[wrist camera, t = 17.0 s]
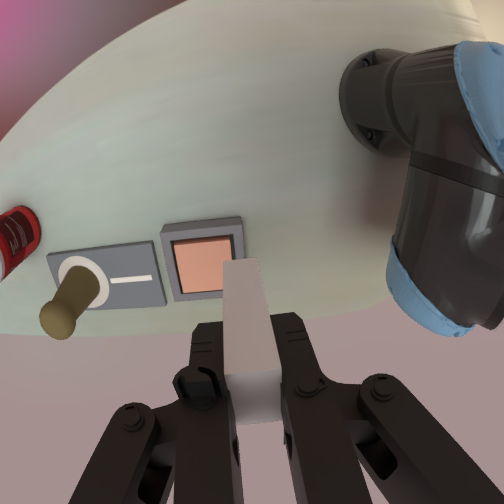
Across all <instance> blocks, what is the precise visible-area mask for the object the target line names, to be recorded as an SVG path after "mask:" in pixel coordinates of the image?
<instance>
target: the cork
mask: <svg viewBox="0 0 504 504" xmlns="http://www.w3.org/2000/svg"><path fill="white" fill-rule="evenodd" d="M99 292H100V284H99V280H98V278H97V276H96V275H95V274H94V273H93V272H92V271H91V270H90V269H88V268H87V267H84V266H78V265H76V266H73V267H71V268H70V269H69V270H68V272H67V273H66V275H65V277H64V279H63V281H62V283H61V284H60V286H59V288H58V290H57V292H56V294H55V296H54V298H53V300H52V301H49V302H47V303H46V304H45V305H44V306H43V307H42V309H41V311H40V315H39V318H40V324H41V327H42V328H43V330H44V331H45V332H46V333H47V334H48V335H49V336H51V337H52V338H55V339H58V340H64V339H67V338H68V337H70V336H71V335H72V334H73V332H74V330H75V326H76V320H77V319H78V317H79V316H80V315H81V314H82V313H83V312H84V311H85V309H86V308H87V307H88V306H89V305H90V304H91V303H92V302H93V300H94V299H95V298H96V297H97V296H98V294H99Z"/></svg>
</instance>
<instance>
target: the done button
mask: <svg viewBox="0 0 504 504" xmlns="http://www.w3.org/2000/svg"><path fill="white" fill-rule="evenodd" d="M174 249H175V254H176V259H177V264H178V269H179V274H180V279H181V284H182V288H183V293H189V292H200V291H211V290H222V289H223V261H228V260H232V253H231V243H230V234H229V235H219V236H209V237H199V238H190V239H180V240H176V241H175V244H174Z"/></svg>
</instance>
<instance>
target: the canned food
mask: <svg viewBox="0 0 504 504" xmlns="http://www.w3.org/2000/svg"><path fill="white" fill-rule="evenodd" d="M40 236H41V231H40V225H39V222H38V220H37V217H36V216H35V214H34V213H33V212H32V211H31V210H30V209H28V208H26V207H23V206H20V207H14V208H12V209H11V210H9V211H7V212H5V213H4V214H2V215H0V282H1V281H2V280H3V279H5V278H6V277H7V276H8V275H9V274H10V273H11V272H12V271H13V270H14V269H15V268H16V267H17V266H18V265H19V264H20V263H21V262H22V261H23V260H24V259H26V258H27V257H28V256H29V255H30V254H31V253H32V252H33V251H34V250H35V249H36V247H37V245H38V243H39V241H40Z"/></svg>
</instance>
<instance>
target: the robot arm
mask: <svg viewBox="0 0 504 504" xmlns="http://www.w3.org/2000/svg"><path fill="white" fill-rule="evenodd" d="M339 98H340V106H341V111H342V114H343V117H344V119H345V122H346V124H347V126H348V127H349V129H350V131H351V132H352V134H353V135H354V136H355V137H356V138H357V140H358V141H359V142H360V143H362V144H363V145H364V146H365V147H367V148H368V149H370V150H372V151H374V152H376V153H379V154H382V155H386V156H389V157H396V158H403V157H409V156H410V163H409V167H408V173H407V180H406V185H405V190H404V195H403V200H402V204H401V209H400V213H399V218H398V222H397V226H396V230H395V234H394V235H393V236H392V238H391V241H390V246H391V251H390V255H389V259H388V264H387V268H386V282H387V286H388V288H389V290H390V292H391V294H392V295H393V298H394V300H395V301H396V303H397V304H398V305H399V307H400V308H401V309H402V310H403V311H404V312H405V313H406V314H407V315H408V316H409V317H410V318H412V319H413V320H414V321H416V322H417V323H418V324H420V325H421V326H423V327H424V328H426V329H428V330H430V331H432V332H434V333H437V334H439V335H442V336H446V337H451V336H452V335H454V336H455V337H462V336H464V335H466V334H467V333H468V332H469V331H471V330H472V329H473V328H474V327H475V325H476V324H478V325H480V326H482V327H485V328H487V329H489V330H491V331H496V330H498V329H500V328H502V327H504V45H501V44H499V43H495V42H472V41H462V42H460V43H458V44H454V45H448V46H443V47H438V48H434V49H429V50H425V51H420V52H416V53H412V54H410V53H406V52H402V51H398V50H393V49H376V50H372V51H369V52H367V53H364V54H362V55H360V56H358V57H357V58H355V59H354V60H353V61H352V62H351V63H350V64H349V65H348V67H347V68H346V70H345V72H344V74H343V77H342V80H341V84H340V92H339ZM190 353H191V354H190V360H189V366H187V367H185V368H183V369H181V370H180V371H179V372H178V373H177V374H176V375H175V377H174V379H173V382H172V383H173V385H174V388H175V390H176V393H177V395H178V397H179V399H178V400H176V401H175V402H173V403H171V404H168V405H166V406H162V407H158V408H155V409H151V408H150V407H149V406H147V405H145V404H142V403H134V402H133V403H129V404H125V405H123V406H122V407H120V408H119V409H118V410H117V411H116V412H115V413H114V415H113V417H112V418H111V420H110V422H109V424H108V426H107V428H106V430H105V432H104V433H103V435H102V437H101V439H100V441H99V443H98V445H97V447H96V449H95V451H94V453H93V455H92V456H91V458H90V461H89V462H88V464H87V466H86V468H85V470H84V472H83V474H82V476H81V479H80V480H79V482H78V485H77V487H76V489H75V491H74V493H73V495H72V497H71V499H70V501H69V503H68V504H166V503H167V500H168V497H169V494H170V491H171V488H172V485H173V482H174V504H244V499H243V488H242V477H241V465H240V454H239V442H238V437H237V433H236V425H246V424H255V423H265V422H272V421H279V420H283V425H284V444H286V449H287V454H288V459H289V464H290V470H291V475H292V480H293V485H294V491H295V496H296V501H297V504H373V503H372V500H371V497H370V494H369V491H368V488H367V485H366V482H365V479H364V476H363V473H362V470H361V467H360V464H359V461H360V463H361V464H362V466H363V467H364V468H365V470H366V471H367V473H368V474H369V476H370V477H371V478H372V480H373V481H374V482H375V484H376V485H377V487H378V488H379V490H380V491H381V493H382V494H383V495H384V497H385V498H386V500H387V501H388V502H389V504H504V495H503V494H502V493H501V491H500V490H499V489H498V488H497V487H496V486H495V484H494V483H493V482H492V481H491V480H490V479H489V478H488V477H487V475H486V474H485V473H484V472H483V471H482V470H481V469H480V468H479V466H478V465H477V464H476V463H475V462H474V461H473V460H472V459H471V457H469V455H468V454H467V453H466V452H465V451H464V450H463V449H462V447H461V446H460V445H459V444H458V443H457V442H456V441H455V440H454V439H453V438H452V436H451V435H450V434H449V433H448V432H447V431H446V430H445V429H444V428H443V427H442V425H441V424H440V423H439V422H438V421H437V420H436V419H435V418H434V417H433V416H432V415H431V414H430V412H428V410H427V409H426V408H425V407H424V406H423V405H422V404H421V403H420V402H419V401H418V400H417V398H416V397H415V396H414V395H413V394H412V393H411V392H410V391H409V390H408V389H407V388H406V387H405V386H404V385H403V384H402V383H401V381H399V380H398V379H396V378H395V377H394V376H391V375H388V374H374V375H372V376H369V377H368V378H366V379H365V380H364V381H363V383H362V384H343V383H337V382H334V381H332V380H330V379H329V378H327V377H326V376H325V375H324V374H323V373H322V371H321V369H320V367H319V364H318V361H317V358H316V356H315V353H314V350H313V347H312V345H311V342H310V340H309V336H308V334H307V332H306V328H305V325H304V323H303V320H302V319H301V318H300V317H299V316H298V315H297V314H295V313H294V312H290V313H283V314H275V315H269V311H268V306H267V302H266V297H265V293H264V289H263V284H262V280H261V276H260V271H259V267H258V263H257V258H247V259H238V260H228V261H223V321H220V322H209V323H199V324H198V325H197V327H196V328H195V330H194V331H193V333H192V341H191V350H190ZM358 460H359V461H358Z"/></svg>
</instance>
